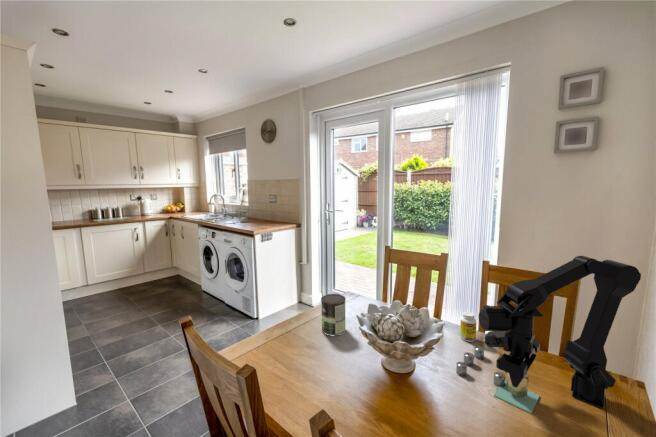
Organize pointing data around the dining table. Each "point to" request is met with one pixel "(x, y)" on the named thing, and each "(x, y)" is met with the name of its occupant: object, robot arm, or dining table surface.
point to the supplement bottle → (468, 327)
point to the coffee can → (333, 314)
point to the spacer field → (469, 361)
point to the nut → (521, 389)
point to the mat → (518, 399)
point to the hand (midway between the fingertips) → (517, 382)
